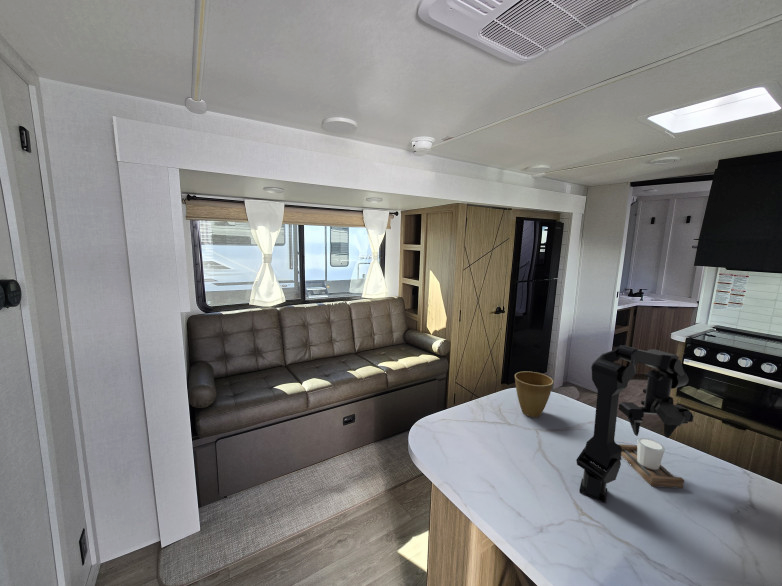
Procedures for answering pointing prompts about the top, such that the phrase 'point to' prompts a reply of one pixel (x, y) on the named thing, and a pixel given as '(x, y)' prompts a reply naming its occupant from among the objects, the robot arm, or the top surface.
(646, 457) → the white tapered cylinder
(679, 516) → the top surface
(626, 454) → the rack
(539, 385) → the plant pot
